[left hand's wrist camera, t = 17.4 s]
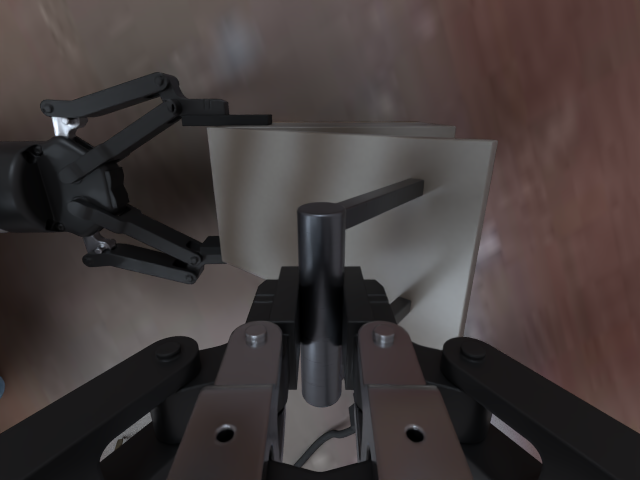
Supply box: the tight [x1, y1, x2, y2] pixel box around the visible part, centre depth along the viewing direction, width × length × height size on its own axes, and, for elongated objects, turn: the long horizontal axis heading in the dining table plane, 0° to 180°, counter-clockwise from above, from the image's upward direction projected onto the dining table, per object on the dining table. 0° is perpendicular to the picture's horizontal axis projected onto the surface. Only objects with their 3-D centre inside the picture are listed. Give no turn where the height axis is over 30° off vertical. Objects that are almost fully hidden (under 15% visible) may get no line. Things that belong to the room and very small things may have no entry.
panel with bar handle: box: [207, 127, 498, 407], centre depth 17 cm, size 18×10×8 cm
